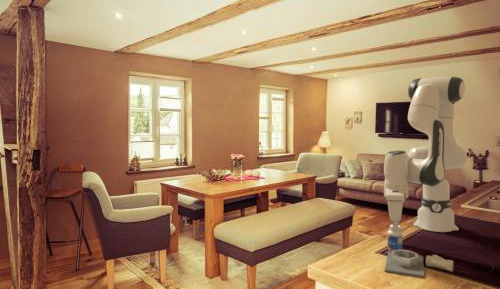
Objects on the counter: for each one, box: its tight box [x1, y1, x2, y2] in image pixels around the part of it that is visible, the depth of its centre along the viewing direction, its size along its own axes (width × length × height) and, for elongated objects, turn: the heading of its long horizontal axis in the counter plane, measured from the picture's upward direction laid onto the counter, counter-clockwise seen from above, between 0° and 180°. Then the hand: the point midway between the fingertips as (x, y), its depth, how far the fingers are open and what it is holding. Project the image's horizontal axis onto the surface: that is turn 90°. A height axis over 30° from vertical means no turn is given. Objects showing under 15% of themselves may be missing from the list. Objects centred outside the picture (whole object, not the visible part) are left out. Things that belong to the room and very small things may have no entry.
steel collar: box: [391, 249, 419, 268], centre depth 123 cm, size 9×9×3 cm
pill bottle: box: [387, 223, 403, 252], centre depth 137 cm, size 6×5×10 cm
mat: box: [384, 250, 425, 279], centre depth 123 cm, size 18×12×1 cm, turn 154°
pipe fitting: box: [425, 254, 454, 273], centre depth 121 cm, size 8×4×7 cm
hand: (396, 227), depth 136 cm, fingers open, 8 cm apart
